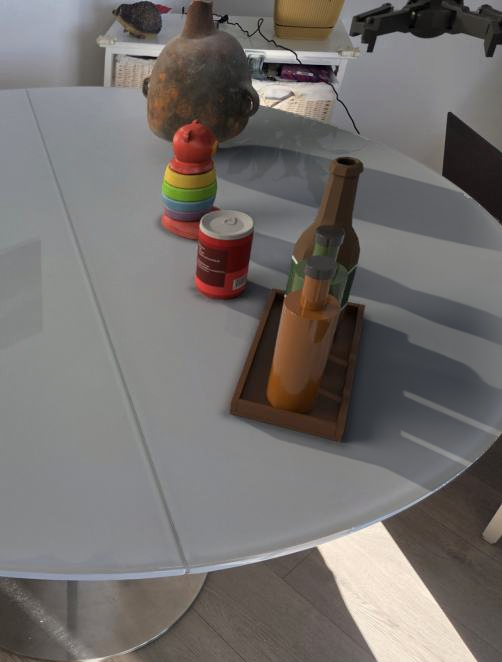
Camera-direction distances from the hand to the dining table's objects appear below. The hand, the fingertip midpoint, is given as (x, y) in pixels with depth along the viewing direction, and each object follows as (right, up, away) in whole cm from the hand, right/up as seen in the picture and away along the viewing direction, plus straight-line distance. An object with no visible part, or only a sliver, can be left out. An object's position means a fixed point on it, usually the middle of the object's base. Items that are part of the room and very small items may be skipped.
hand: (430, 43), depth 81 cm
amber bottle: (-19, -45, -3) cm, 49 cm away
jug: (-16, +5, +60) cm, 62 cm away
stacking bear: (-23, -16, +34) cm, 44 cm away
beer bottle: (-12, -36, +7) cm, 39 cm away
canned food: (-22, -29, +18) cm, 41 cm away
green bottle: (-16, -41, +2) cm, 44 cm away
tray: (-15, -40, +3) cm, 43 cm away
